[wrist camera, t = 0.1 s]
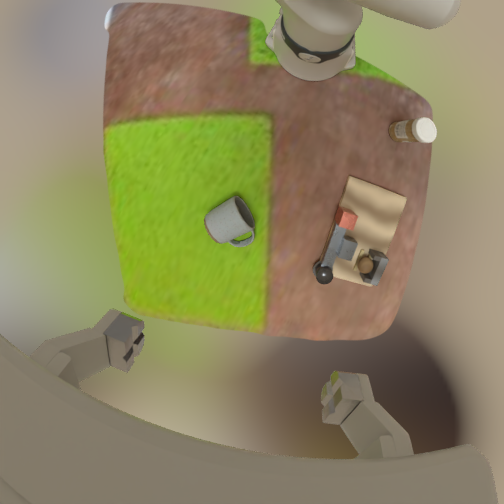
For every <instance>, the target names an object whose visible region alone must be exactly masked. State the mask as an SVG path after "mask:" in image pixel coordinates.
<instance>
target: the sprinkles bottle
mask: <svg viewBox="0 0 504 504" xmlns="http://www.w3.org/2000/svg"><path fill="white" fill-rule="evenodd" d="M389 134H390V137H391V138H392V139H393V140H394V141H396V142H421V143H431V142H433V140H435V138H436V135H437V130H436V126H435V124H434V123H433V121H432V120H430V119H429V118H426V117H421V118H417V119H414V120H406V121H400V122H394V123H392V124H391V125H390V127H389Z"/></svg>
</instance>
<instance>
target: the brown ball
mask: <svg viewBox="0 0 504 504" xmlns="http://www.w3.org/2000/svg"><path fill="white" fill-rule="evenodd" d="M357 267H358V270H359V271H360V272H361V273H364V274H366V273H369V272H371V270H372V269H373V261H372V260H371V259H370V258H369V257H362V258H360V259H359V261H358V263H357Z"/></svg>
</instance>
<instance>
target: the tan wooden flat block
mask: <svg viewBox="0 0 504 504" xmlns="http://www.w3.org/2000/svg"><path fill="white" fill-rule="evenodd" d="M406 200H407V198H406V197H403V196H401V195H399V194H396V193H394V192H391V191H389V190H386V189H384V188H381V187H379V186H376V185H373V184H371V183H368V182H365V181H363V180H360V179H357V178H354V177H351V176H349V175H348V178H347V181H346V185H345V188H344V191H343V194H342V197H341V200H340V203H339V206H341V207H344V208H347V209H350V210H352V211H353V212H354V213H355V214H356V215H357V216H358V219H357V221H356V224H355V227H354V230H353V231H352V230H349V229H347V230H346V232H345V235H344V236H348V237H351V238H354V239H355V240H356V241H357V243H358V245H357V248H356V251H355V253H354V256H353V258H352V261H348V260H345V259H341V258H338V256H337V257H336V259H335V262H334V264H333V267H332V273H333V277H337V278H340V279H344V280H348V281H352V282H355V283H359V284H363V285H367V286H370V287H372V285H376V286H377V285H378V283H379V281H380V278H381V276H382V274H383V272H384V270H385V267H386V265H387V263H388V261H389V259H388V258H387V257H386V256H385V255H386V253H387V250H388V248H389V246H390V243H391V241H392V238H393V236H394V233H395V230H396V228H397V225H398V222H399V220H400V217H401V214H402V211H403V208H404V206H405V203H406ZM334 223H335V220H334V222H333V225H332V227H331V230H330V233H329V236H328V239H327V242H326V245H325V247H324V250H323V253H322V256H321V258H320V261H318V262H317V263H316V264H315V265H314V267H313V273H314V275H315V276H316V274H315V268H316V266H317V265H318V264H320V262H321V259H322V257H323V254H324V251H325V248H326V246H327V243H328V240H329V237H330V234H331V232H332V229H333V226H334ZM362 257H369V258H370V259H371V260H372V261H373V269H372V270H371V272H369V273H366V274H364V273H361V272H360V271H359V270H358V267H357V263H358V261H359V259H360V258H362Z"/></svg>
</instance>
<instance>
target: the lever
mask: <svg viewBox="0 0 504 504" xmlns="http://www.w3.org/2000/svg"><path fill="white" fill-rule="evenodd" d="M357 219H358V216H357V215H356V214H355V213H354V212H353V211H352V210H350V209H347V208H344V207H341V206H339V207H338V210H337V213H336V216H335V219H334V220H335V223H334V226H333V229H332V232H331V234H330V237H329V240H328V243H327V246H326V248H325V251H324V254H323V257H322V259H321V262H320V264H318V265H317V266H316V268H315V274H316V278H317V281H318V282H319V283H321V284H328V283H330V282H331V281H332V279H333V273H332V267H333V264H334V262H335V259H336V257H337V256H338V258H341V259H345V260H348V261H352V258H353V256H354V253H355V251H356V248H357V245H358V243H357V241H356V240H355V239H354V238H351V237H348V236H344V235H345V232H346V230H347V229H349V230H352V231H353V230H354V227H355V224H356V221H357Z"/></svg>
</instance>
